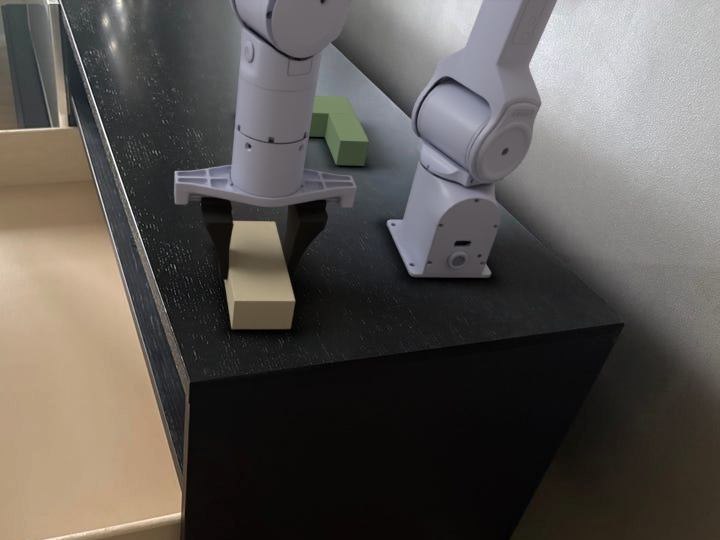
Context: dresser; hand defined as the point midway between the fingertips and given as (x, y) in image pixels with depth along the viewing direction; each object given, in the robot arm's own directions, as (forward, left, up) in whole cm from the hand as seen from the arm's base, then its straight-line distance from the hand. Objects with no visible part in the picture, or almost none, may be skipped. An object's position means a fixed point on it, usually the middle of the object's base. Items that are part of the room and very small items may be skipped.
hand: (254, 273), depth 66 cm
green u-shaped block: (+29, -9, -1) cm, 30 cm away
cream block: (0, 0, -1) cm, 1 cm away
